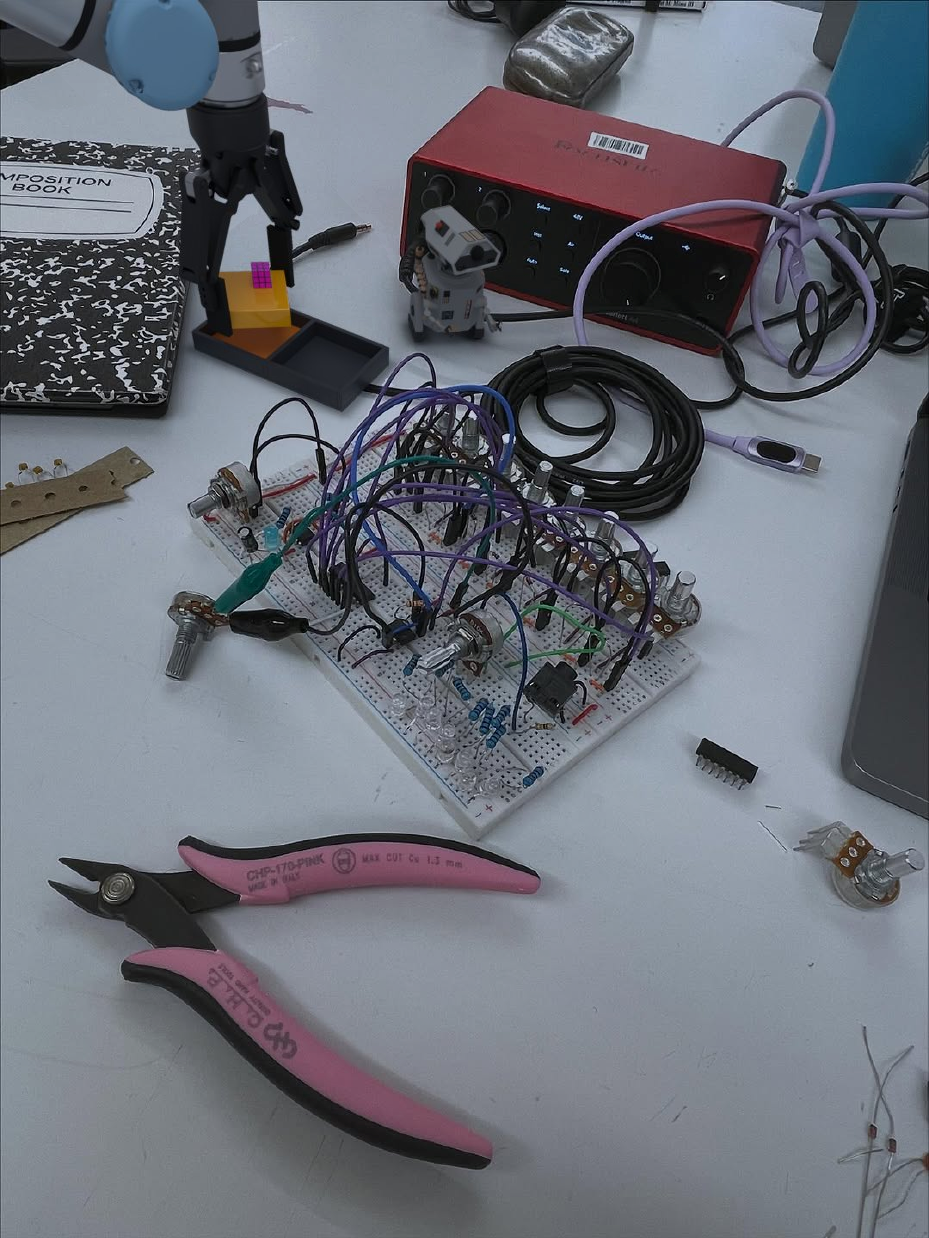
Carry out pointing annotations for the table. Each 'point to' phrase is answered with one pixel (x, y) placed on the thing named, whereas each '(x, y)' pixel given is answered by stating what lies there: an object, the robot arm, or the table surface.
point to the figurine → (452, 276)
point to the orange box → (257, 297)
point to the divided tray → (301, 357)
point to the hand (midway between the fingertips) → (253, 306)
